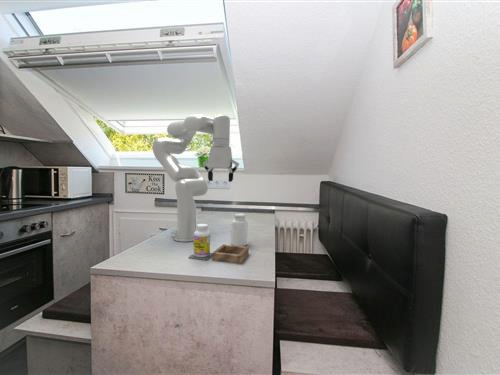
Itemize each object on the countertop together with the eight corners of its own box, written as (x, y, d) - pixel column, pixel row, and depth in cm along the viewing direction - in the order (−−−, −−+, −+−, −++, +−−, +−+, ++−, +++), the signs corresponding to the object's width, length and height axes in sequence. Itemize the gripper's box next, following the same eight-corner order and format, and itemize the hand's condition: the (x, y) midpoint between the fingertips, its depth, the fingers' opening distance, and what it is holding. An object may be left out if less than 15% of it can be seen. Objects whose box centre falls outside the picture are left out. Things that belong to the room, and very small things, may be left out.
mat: (188, 258, 95) (188, 257, 95) (197, 252, 103) (197, 251, 103) (206, 260, 94) (206, 259, 93) (214, 254, 101) (214, 253, 101)
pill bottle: (240, 247, 111) (241, 216, 110) (227, 244, 115) (228, 214, 115) (250, 244, 117) (251, 214, 116) (238, 240, 122) (238, 212, 121)
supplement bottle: (190, 256, 96) (190, 225, 96) (199, 251, 103) (199, 222, 102) (204, 258, 94) (205, 227, 93) (212, 253, 100) (213, 224, 100)
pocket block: (212, 260, 94) (212, 253, 94) (222, 250, 106) (223, 244, 105) (240, 263, 91) (240, 256, 91) (248, 253, 103) (248, 247, 102)
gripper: (200, 142, 105) (199, 180, 106) (236, 142, 101) (235, 182, 102) (207, 144, 112) (206, 180, 113) (241, 144, 108) (240, 181, 109)
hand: (220, 181), depth 107 cm, fingers open, 9 cm apart
